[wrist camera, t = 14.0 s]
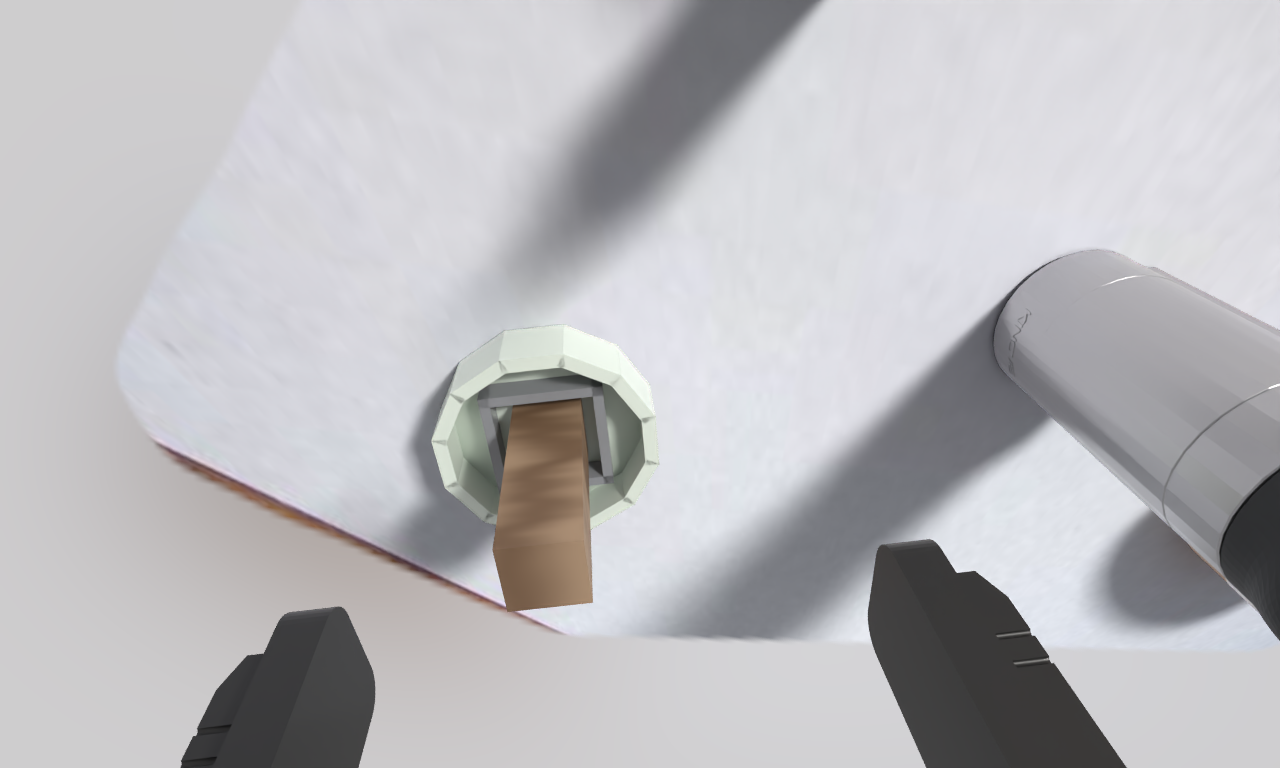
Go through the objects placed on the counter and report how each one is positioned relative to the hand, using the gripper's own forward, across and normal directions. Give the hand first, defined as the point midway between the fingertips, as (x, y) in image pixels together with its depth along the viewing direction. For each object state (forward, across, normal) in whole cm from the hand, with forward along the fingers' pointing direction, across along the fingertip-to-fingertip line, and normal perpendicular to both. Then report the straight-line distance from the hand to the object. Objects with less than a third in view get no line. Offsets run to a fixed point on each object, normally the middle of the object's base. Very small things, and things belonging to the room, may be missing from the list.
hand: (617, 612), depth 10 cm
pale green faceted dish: (+28, +4, +15) cm, 32 cm away
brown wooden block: (+27, +4, +15) cm, 31 cm away
